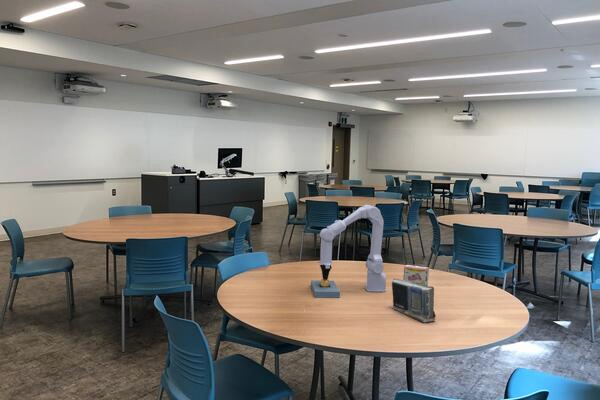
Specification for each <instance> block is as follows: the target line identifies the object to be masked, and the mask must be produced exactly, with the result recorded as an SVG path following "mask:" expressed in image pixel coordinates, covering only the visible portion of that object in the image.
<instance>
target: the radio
mask: <svg viewBox="0 0 600 400" xmlns="http://www.w3.org/2000/svg"><path fill="white" fill-rule="evenodd" d="M391 289H392V306H391V307H390V306H389V308H390V309H392V310H394V311H397V312H399V313H401V314H404V315H406V316H408V317H410V318H412V319H414V320H417V321H419V322H421V323H429V322H434V321H436V316H437V315H436V313H435V311H434V307H435V305H434V303H435V301H434V300H435V299H434V298H435V288H434V286H429V285H428V286H424V285H419V284H416V283H413V282H409V281H405V280H403V279H401V278H393V279H392V281H391Z"/></svg>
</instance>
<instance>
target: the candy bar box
mask: <svg viewBox="0 0 600 400" xmlns="http://www.w3.org/2000/svg"><path fill="white" fill-rule="evenodd" d="M429 271H430V268H429V267H428V266H427V267H425V266H419V265H411V264H406V265H404V268H403V279H402V280H405V281H409V282H413V283H416V284H419V285H424V286H429Z"/></svg>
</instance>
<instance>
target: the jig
mask: <svg viewBox="0 0 600 400" xmlns="http://www.w3.org/2000/svg"><path fill="white" fill-rule="evenodd" d="M310 288H311V291H312V293H313V296H314V298H315V299H317V298H318V299H319V298H320V299H324V298H325V299H328V298H329V299H340V298H341V291H340V289H339V288H338V286H337V284H336V282H335V280H329V287H321V279H320V280H314V279H313V280H310Z"/></svg>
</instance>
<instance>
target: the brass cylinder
mask: <svg viewBox="0 0 600 400" xmlns="http://www.w3.org/2000/svg"><path fill="white" fill-rule="evenodd" d="M320 280H321V287H329V281H330V280H329V278H328V279H327V280H323V278H322V279H320Z"/></svg>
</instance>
